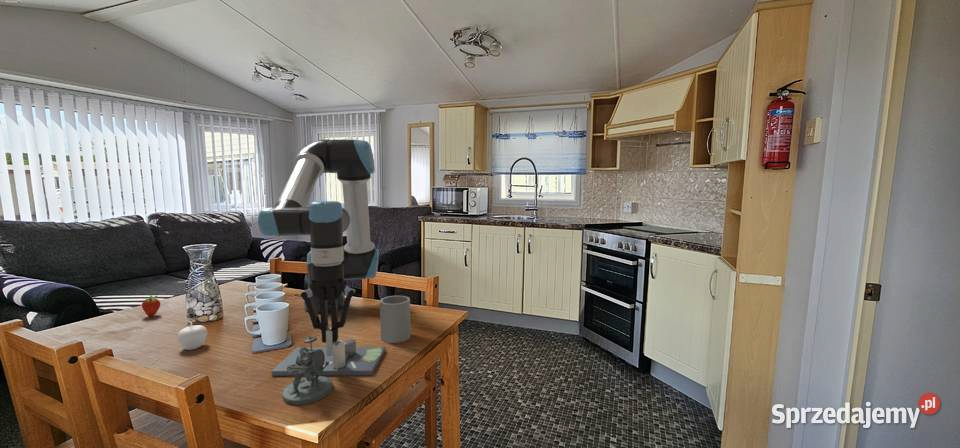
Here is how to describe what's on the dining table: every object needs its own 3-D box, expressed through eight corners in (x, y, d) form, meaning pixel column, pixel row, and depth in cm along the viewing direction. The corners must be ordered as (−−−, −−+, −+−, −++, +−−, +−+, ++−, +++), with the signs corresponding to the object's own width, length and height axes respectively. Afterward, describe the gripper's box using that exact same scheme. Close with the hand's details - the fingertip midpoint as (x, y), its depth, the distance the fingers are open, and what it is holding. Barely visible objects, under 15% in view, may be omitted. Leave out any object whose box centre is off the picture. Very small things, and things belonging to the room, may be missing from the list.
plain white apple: (174, 354, 107) (172, 327, 106) (183, 344, 113) (181, 318, 112) (204, 350, 109) (202, 323, 108) (211, 340, 116) (209, 315, 115)
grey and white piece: (342, 350, 106) (341, 328, 105) (358, 350, 106) (357, 327, 105) (328, 368, 95) (327, 344, 94) (346, 368, 95) (345, 344, 94)
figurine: (271, 402, 83) (268, 350, 82) (301, 378, 94) (299, 331, 92) (316, 407, 81) (313, 353, 80) (341, 381, 92) (339, 334, 91)
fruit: (139, 317, 136) (137, 295, 136) (156, 312, 141) (154, 292, 140) (148, 319, 134) (146, 297, 134) (165, 314, 139) (163, 293, 138)
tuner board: (297, 351, 109) (297, 346, 108) (385, 350, 109) (384, 346, 109) (271, 375, 95) (271, 370, 94) (371, 375, 95) (371, 370, 95)
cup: (376, 342, 115) (375, 303, 114) (387, 330, 124) (386, 295, 123) (405, 343, 114) (404, 305, 112) (414, 332, 123) (413, 296, 121)
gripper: (295, 267, 89) (299, 362, 92) (352, 265, 92) (354, 358, 94) (304, 260, 97) (307, 349, 99) (356, 259, 99) (359, 345, 102)
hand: (330, 353), depth 97 cm, fingers closed
